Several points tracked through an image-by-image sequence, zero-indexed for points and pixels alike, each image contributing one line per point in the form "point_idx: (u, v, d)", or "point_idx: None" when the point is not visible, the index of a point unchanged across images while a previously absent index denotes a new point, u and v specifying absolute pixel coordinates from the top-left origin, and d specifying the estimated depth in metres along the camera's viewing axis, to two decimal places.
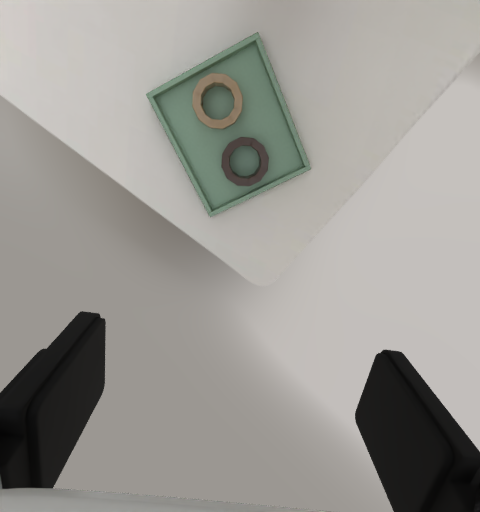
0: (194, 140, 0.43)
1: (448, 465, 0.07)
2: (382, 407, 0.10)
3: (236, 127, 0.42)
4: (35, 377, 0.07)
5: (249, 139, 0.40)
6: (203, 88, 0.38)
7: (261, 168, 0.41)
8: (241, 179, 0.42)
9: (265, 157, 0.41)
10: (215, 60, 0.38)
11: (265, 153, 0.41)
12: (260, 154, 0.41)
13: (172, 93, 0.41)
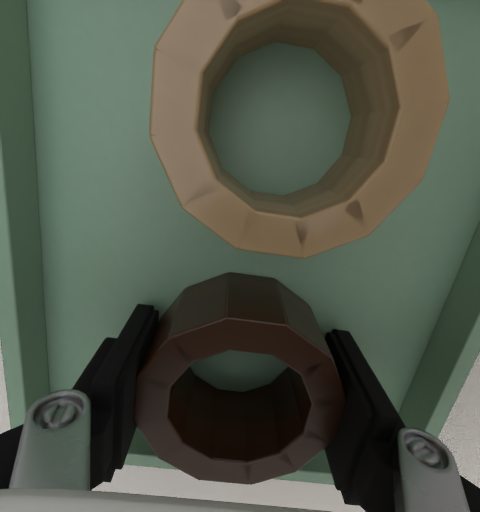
0: (106, 186, 0.10)
1: (369, 425, 0.08)
2: None
3: None
4: (116, 359, 0.08)
5: (314, 353, 0.09)
6: None
7: (282, 456, 0.10)
8: (186, 450, 0.10)
9: (322, 436, 0.10)
10: None
11: (332, 425, 0.09)
12: (313, 418, 0.09)
13: None
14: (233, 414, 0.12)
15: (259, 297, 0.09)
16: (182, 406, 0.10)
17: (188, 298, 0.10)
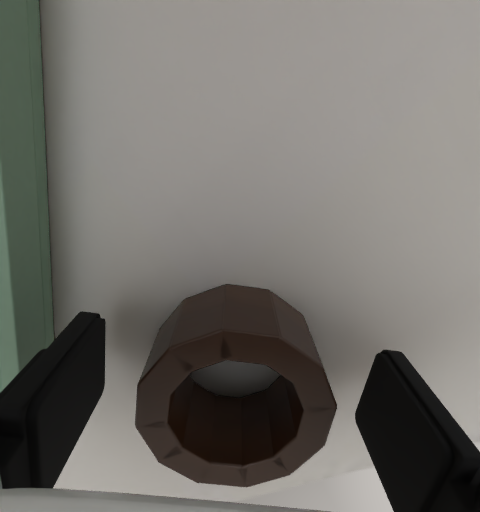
0: None
1: (448, 465, 0.07)
2: (382, 407, 0.10)
3: None
4: (35, 377, 0.07)
5: (305, 363, 0.09)
6: None
7: (276, 460, 0.10)
8: (185, 455, 0.10)
9: (314, 441, 0.10)
10: None
11: (323, 430, 0.10)
12: (305, 424, 0.10)
13: None
14: (230, 420, 0.12)
15: (254, 309, 0.10)
16: (181, 412, 0.11)
17: (187, 309, 0.11)
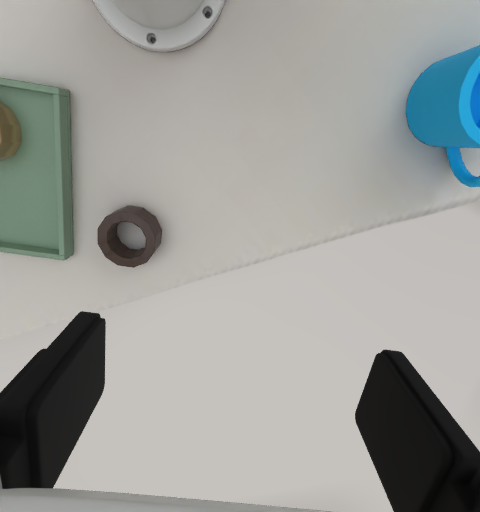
0: None
1: (448, 465, 0.07)
2: (382, 407, 0.10)
3: (2, 166, 0.33)
4: (35, 377, 0.07)
5: (143, 222, 0.33)
6: None
7: (140, 256, 0.34)
8: (113, 254, 0.34)
9: (151, 249, 0.34)
10: None
11: (153, 245, 0.34)
12: (147, 243, 0.34)
13: None
14: (132, 252, 0.36)
15: (133, 209, 0.34)
16: (113, 244, 0.35)
17: None
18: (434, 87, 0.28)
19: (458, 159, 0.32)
